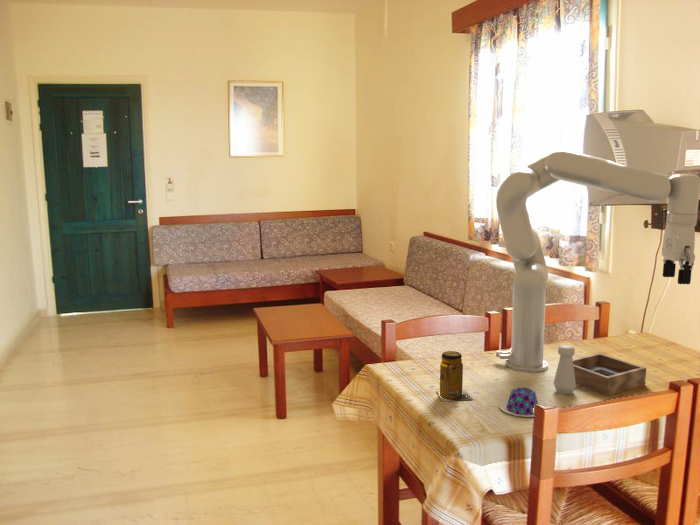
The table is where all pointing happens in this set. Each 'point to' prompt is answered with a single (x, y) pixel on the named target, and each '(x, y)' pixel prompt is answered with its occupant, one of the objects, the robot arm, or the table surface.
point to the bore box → (607, 374)
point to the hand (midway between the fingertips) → (675, 280)
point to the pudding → (520, 402)
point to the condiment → (452, 377)
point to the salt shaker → (565, 371)
